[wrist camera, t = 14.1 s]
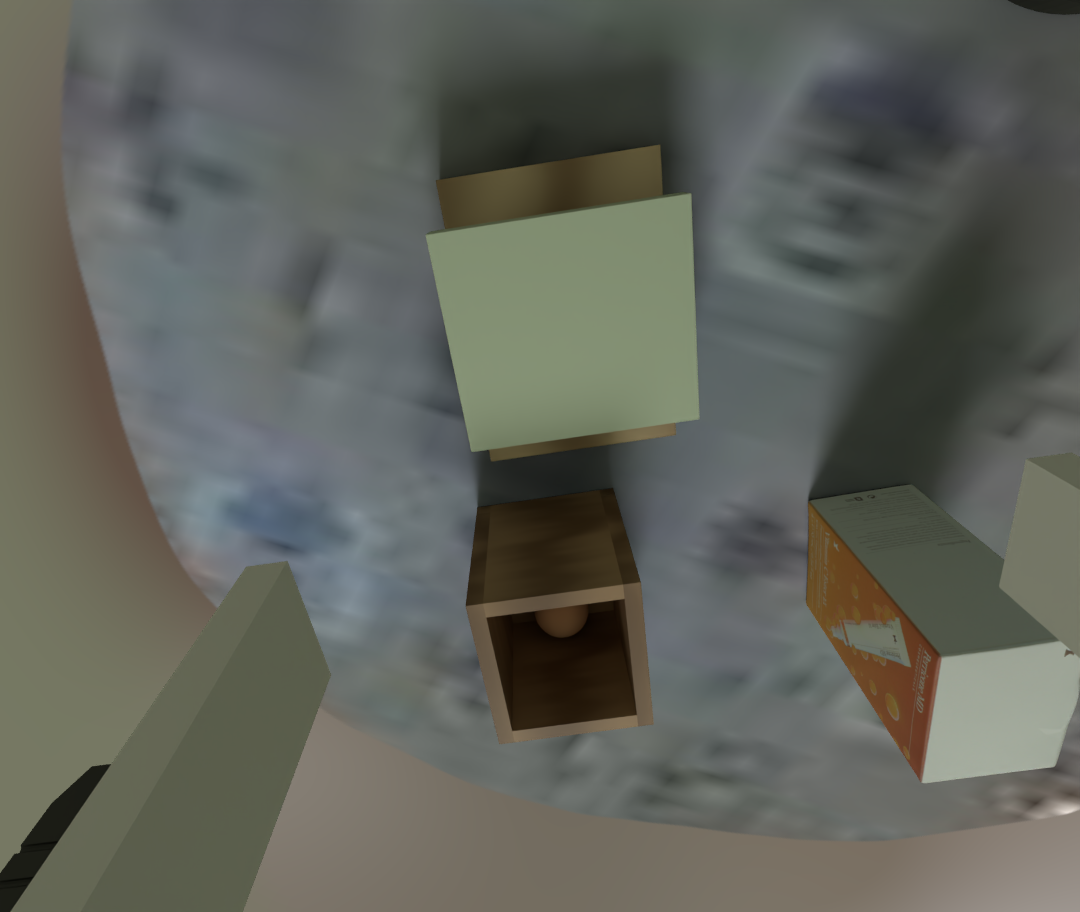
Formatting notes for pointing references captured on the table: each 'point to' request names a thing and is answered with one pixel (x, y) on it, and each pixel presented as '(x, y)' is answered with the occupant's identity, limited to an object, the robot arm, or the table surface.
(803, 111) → the table surface
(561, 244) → the lid
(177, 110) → the table surface
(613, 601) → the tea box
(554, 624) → the ball
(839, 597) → the small box
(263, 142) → the table surface
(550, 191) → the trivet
